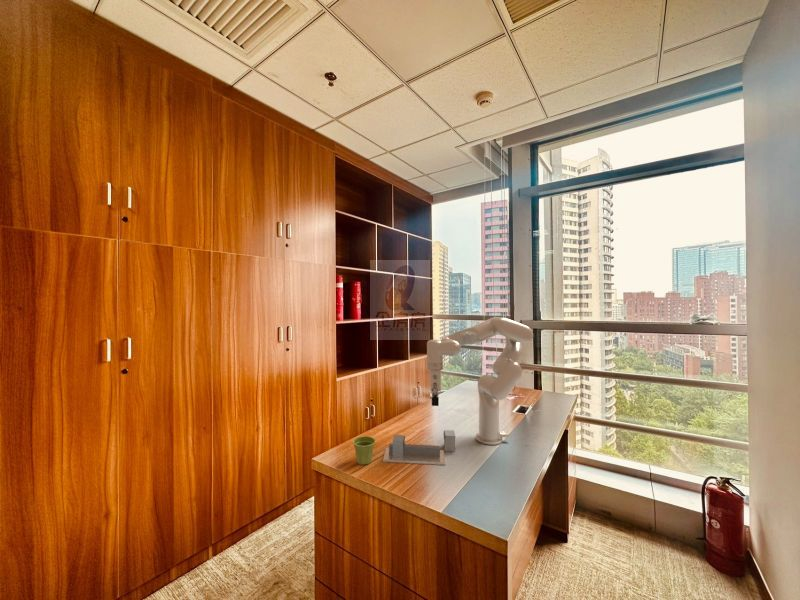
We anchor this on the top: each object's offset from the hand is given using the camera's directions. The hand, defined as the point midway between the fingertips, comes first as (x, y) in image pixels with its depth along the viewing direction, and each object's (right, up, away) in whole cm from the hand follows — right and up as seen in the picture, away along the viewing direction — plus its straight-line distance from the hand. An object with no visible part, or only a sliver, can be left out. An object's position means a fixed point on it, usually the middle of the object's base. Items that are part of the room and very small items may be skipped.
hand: (435, 402), depth 149 cm
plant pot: (-32, -20, -17) cm, 41 cm away
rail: (-10, -20, -12) cm, 26 cm away
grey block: (+6, -20, -4) cm, 21 cm away
